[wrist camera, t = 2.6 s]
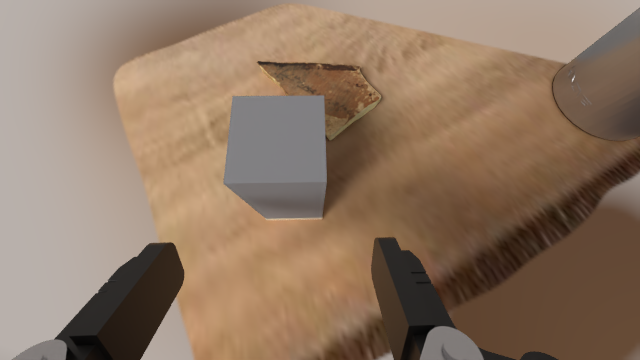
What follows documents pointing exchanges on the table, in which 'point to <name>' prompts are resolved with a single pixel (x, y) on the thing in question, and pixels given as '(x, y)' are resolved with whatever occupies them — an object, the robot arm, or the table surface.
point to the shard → (327, 90)
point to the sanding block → (278, 155)
